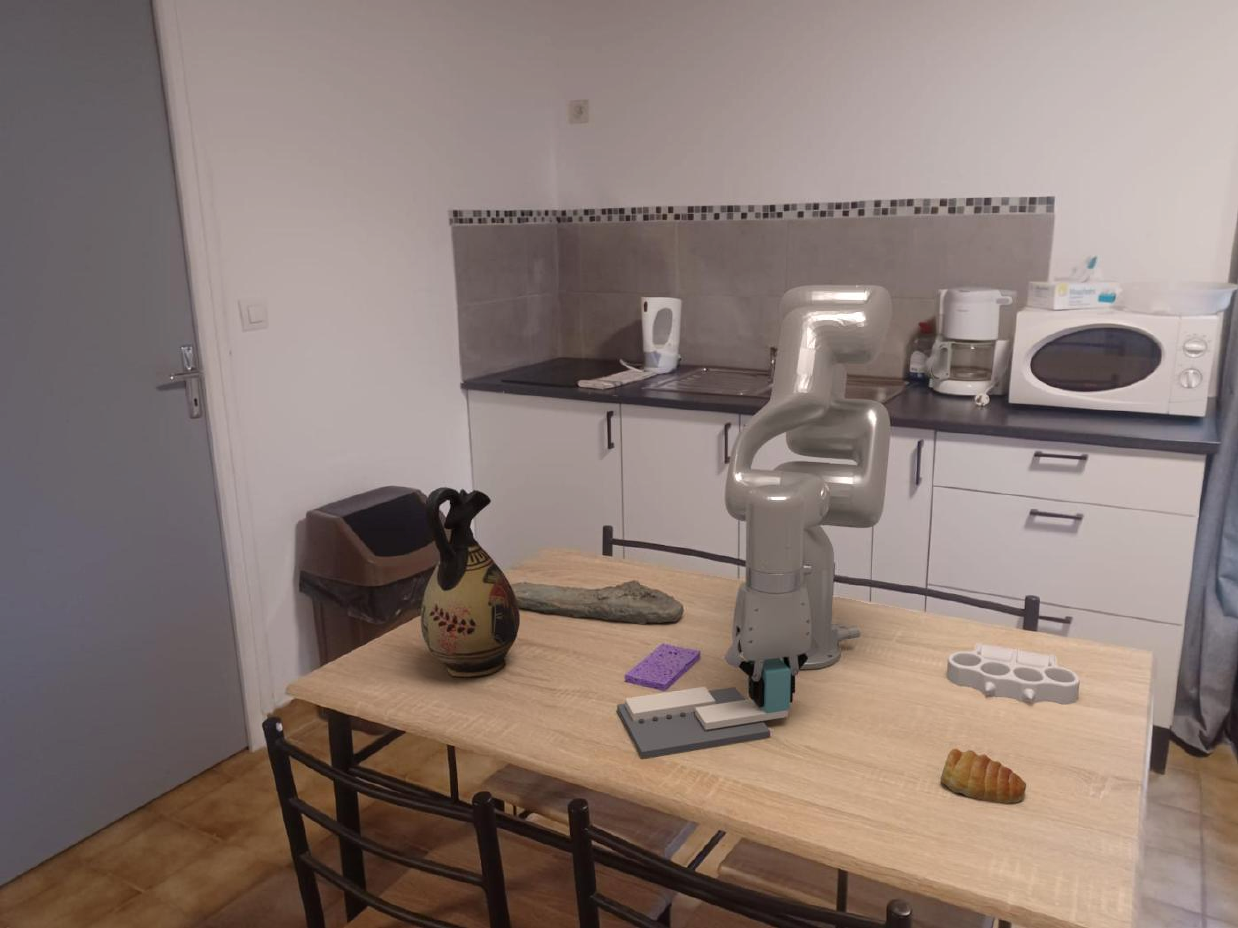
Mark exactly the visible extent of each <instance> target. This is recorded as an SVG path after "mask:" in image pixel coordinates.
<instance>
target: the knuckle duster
mask: <svg viewBox="0 0 1238 928" xmlns="http://www.w3.org/2000/svg"><path fill="white" fill-rule="evenodd" d="M1057 661H1058V656H1056V655H1055V654H1052V653H1050V654H1045V653H1039V652H1032V651H1027V650H1021V649H1018V648H1008V647H1003V646H995V645H989V644H984V643H983V642H976V643H975V645H974V650H971V651H956V652H953V653H951V654H949V656H948V657H947V669H946V679H947V680H948V682H950V683H952V684H953V685H956V686H958V687H967V688H971V689H973V690H976V691H978V692H980V693H982V694H984V695H988V696H991V697H995V698H1007V699H1011V700H1016V701H1019V702H1021V703H1022V702H1023V703H1039V702H1040V703H1041V702H1048V703H1049V702H1051V703H1055V704H1058V705H1069V704H1070V705H1071V704H1074V703H1076V702H1077V701H1079V700H1078V699H1079V691H1080V682H1081V681H1080V680H1081V679H1080V677H1079V675H1078V674H1077V673H1076V672H1074V671H1073V670H1071V669H1068V668H1065V667H1062V666H1060V665H1058V664H1057V663H1058V662H1057Z"/></svg>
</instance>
